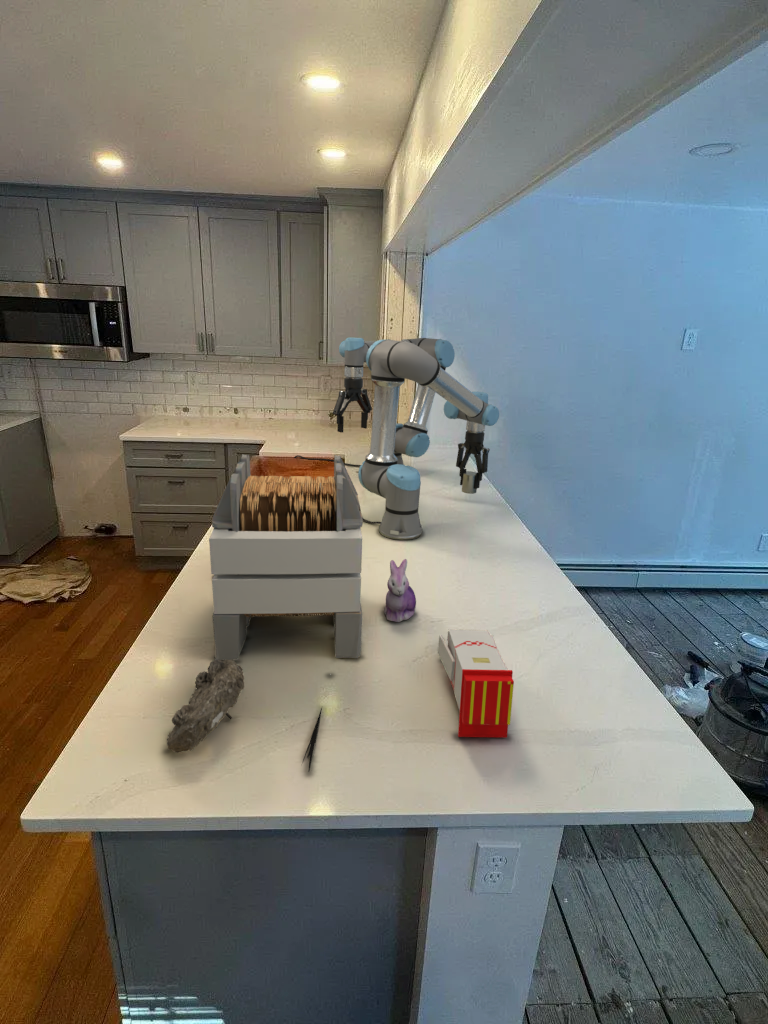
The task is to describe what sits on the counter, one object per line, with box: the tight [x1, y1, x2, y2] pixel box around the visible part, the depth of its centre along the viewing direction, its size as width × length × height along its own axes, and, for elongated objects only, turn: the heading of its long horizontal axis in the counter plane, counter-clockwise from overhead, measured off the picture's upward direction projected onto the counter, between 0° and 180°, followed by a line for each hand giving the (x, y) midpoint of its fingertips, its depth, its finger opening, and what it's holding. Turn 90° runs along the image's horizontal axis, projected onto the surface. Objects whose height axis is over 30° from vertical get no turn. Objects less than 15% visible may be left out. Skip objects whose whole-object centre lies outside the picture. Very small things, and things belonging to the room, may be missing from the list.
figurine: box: [384, 558, 417, 623], centre depth 145 cm, size 9×10×15 cm
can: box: [461, 470, 478, 495], centre depth 234 cm, size 6×6×8 cm
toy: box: [437, 628, 515, 738], centre depth 117 cm, size 12×13×30 cm
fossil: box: [166, 659, 245, 754], centre depth 106 cm, size 22×10×15 cm
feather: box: [301, 673, 332, 771], centre depth 108 cm, size 2×28×2 cm
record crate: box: [208, 453, 364, 661], centre depth 135 cm, size 34×33×41 cm
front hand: (469, 486), depth 235 cm, fingers closed on can, 6 cm apart
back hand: (352, 430), depth 235 cm, fingers open, 13 cm apart
